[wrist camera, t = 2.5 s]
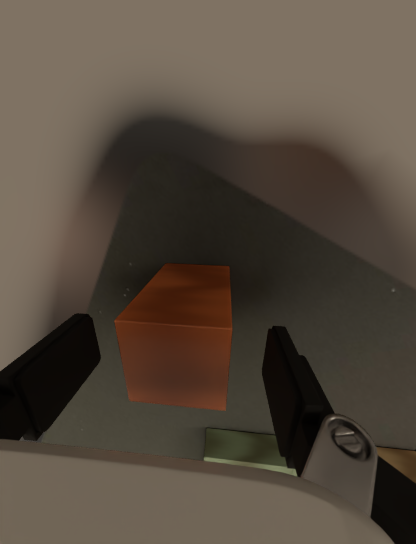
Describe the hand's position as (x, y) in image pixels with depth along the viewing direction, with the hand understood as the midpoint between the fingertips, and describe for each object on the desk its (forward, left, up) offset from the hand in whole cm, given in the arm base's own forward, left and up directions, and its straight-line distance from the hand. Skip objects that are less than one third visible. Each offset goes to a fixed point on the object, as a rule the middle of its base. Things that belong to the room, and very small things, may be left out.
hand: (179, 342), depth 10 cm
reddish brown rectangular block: (0, 0, -5) cm, 5 cm away
